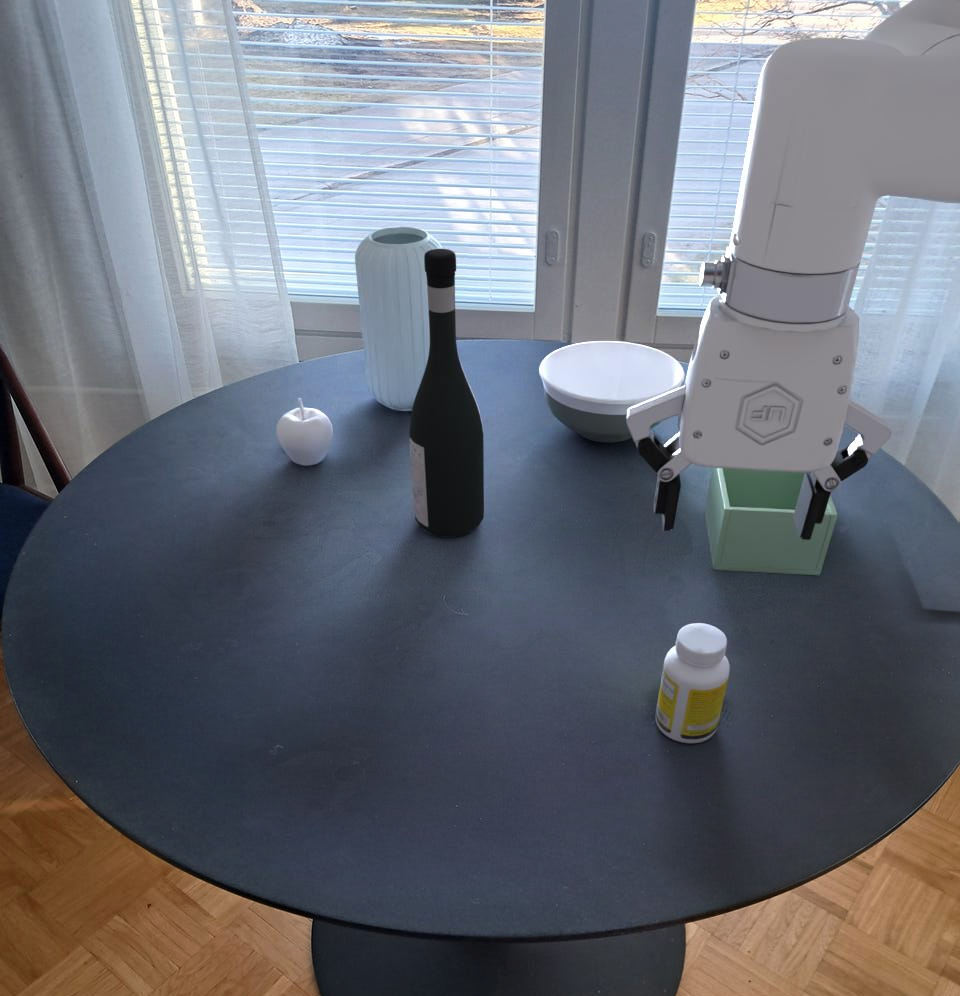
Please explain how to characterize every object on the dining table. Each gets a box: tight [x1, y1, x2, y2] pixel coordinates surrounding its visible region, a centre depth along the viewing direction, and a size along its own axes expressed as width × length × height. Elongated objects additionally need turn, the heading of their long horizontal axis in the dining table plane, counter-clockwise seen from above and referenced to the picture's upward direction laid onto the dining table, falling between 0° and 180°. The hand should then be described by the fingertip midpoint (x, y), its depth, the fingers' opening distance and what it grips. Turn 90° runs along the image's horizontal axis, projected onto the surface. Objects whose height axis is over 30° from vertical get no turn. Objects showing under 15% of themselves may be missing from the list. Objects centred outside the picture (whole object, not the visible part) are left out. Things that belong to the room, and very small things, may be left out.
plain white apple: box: [275, 397, 334, 466], centre depth 113 cm, size 7×7×8 cm
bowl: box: [538, 340, 686, 443], centre depth 119 cm, size 19×19×8 cm
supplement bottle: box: [655, 622, 731, 744], centre depth 76 cm, size 5×5×10 cm
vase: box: [354, 225, 443, 412], centre depth 121 cm, size 12×12×22 cm
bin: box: [704, 468, 838, 576], centre depth 98 cm, size 11×11×8 cm
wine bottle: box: [408, 248, 485, 538], centre depth 94 cm, size 8×8×30 cm
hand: (733, 525), depth 65 cm, fingers open, 9 cm apart
